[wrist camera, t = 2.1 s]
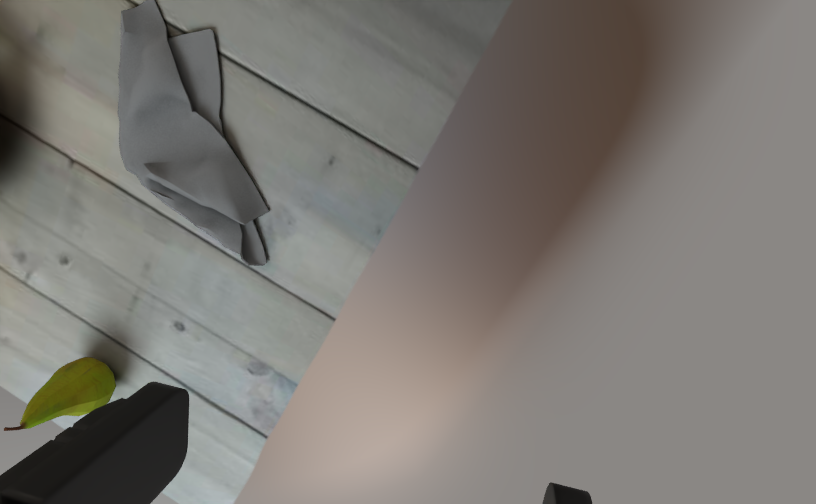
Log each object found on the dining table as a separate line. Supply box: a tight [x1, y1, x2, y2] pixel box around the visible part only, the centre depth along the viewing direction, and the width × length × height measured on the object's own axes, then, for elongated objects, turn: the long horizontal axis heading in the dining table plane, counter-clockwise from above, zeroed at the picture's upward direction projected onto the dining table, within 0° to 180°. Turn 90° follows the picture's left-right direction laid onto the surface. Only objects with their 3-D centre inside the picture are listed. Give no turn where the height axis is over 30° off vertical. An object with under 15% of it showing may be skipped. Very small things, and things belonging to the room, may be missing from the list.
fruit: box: [4, 357, 116, 431], centre depth 51 cm, size 6×6×12 cm
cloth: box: [118, 0, 269, 266], centre depth 47 cm, size 26×14×2 cm, turn 12°
